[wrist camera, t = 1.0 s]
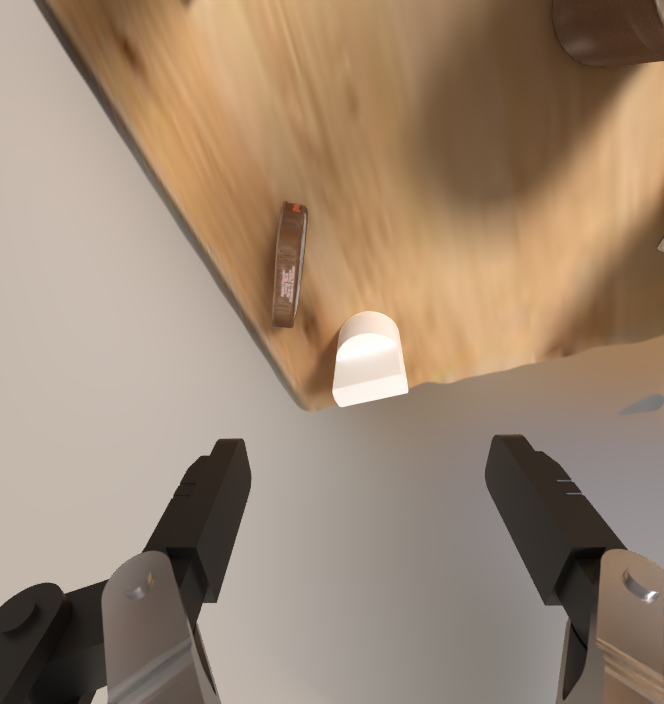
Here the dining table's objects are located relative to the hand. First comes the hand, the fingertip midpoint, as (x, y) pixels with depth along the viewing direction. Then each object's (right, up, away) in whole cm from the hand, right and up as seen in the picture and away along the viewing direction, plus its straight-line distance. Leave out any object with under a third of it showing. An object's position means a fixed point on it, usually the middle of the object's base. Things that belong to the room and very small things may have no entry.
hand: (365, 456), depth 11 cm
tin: (-6, +16, +32) cm, 36 cm away
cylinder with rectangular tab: (+4, +6, +38) cm, 39 cm away
